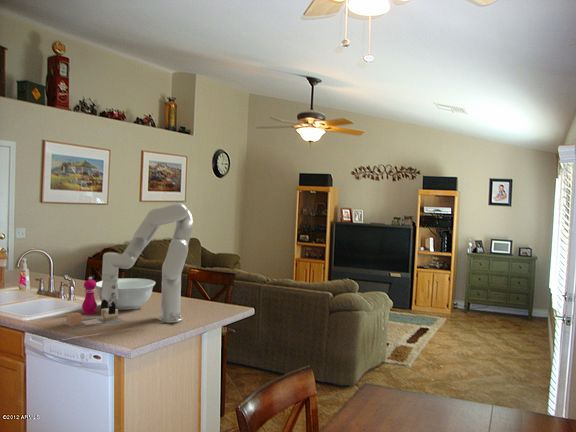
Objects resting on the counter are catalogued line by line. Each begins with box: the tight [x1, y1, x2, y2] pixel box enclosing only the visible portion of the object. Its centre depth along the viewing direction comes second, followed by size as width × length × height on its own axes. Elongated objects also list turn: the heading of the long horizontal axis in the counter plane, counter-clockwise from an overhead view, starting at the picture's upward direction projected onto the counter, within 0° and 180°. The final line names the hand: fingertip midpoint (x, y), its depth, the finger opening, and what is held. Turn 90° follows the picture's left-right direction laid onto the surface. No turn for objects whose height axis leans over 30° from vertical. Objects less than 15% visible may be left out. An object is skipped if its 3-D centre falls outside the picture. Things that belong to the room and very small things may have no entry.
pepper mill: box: [81, 276, 98, 315], centre depth 252 cm, size 7×7×20 cm
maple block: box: [100, 307, 119, 322], centre depth 240 cm, size 6×6×5 cm
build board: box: [62, 316, 125, 330], centre depth 235 cm, size 14×25×1 cm, turn 132°
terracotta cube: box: [66, 312, 83, 327], centre depth 229 cm, size 5×5×5 cm
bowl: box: [95, 277, 156, 311], centre depth 269 cm, size 32×32×15 cm
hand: (108, 311), depth 240 cm, fingers open, 9 cm apart
